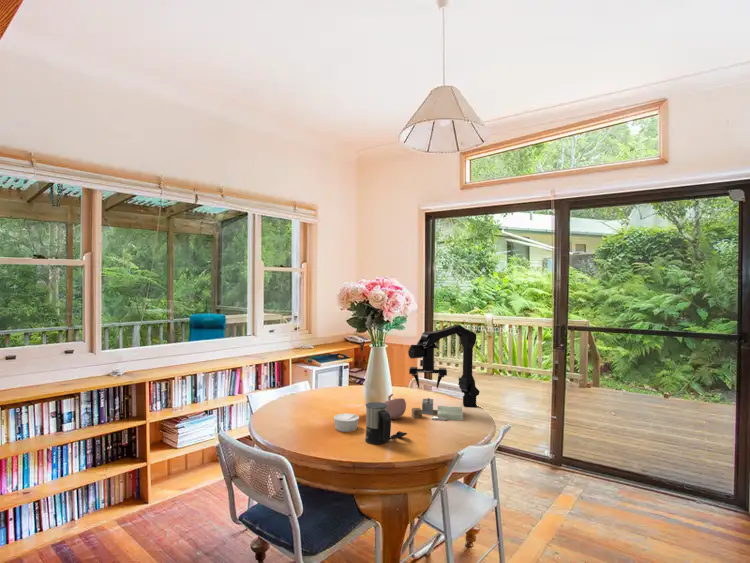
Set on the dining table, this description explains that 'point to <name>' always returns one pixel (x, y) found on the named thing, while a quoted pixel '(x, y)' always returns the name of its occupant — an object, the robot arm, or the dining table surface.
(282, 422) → the dining table surface
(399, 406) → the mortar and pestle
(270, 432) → the dining table surface
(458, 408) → the pale green flat slab
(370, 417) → the milk frother
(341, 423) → the ramekin
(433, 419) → the steel pin
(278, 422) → the dining table surface
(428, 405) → the block
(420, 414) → the walnut block
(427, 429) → the dining table surface
